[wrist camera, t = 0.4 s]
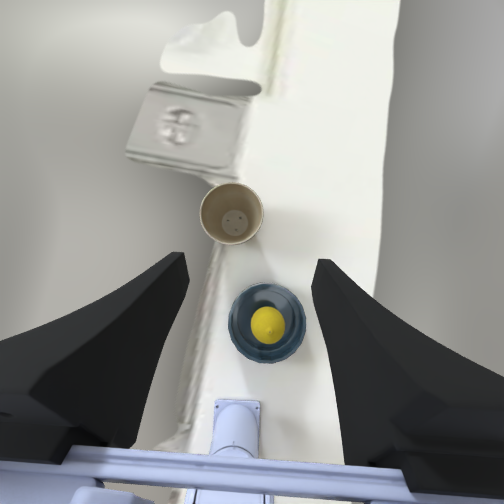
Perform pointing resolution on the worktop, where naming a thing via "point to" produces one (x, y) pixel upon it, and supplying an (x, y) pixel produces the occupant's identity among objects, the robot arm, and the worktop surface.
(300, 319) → the bowl
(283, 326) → the lemon
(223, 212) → the flower pot
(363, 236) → the worktop surface
